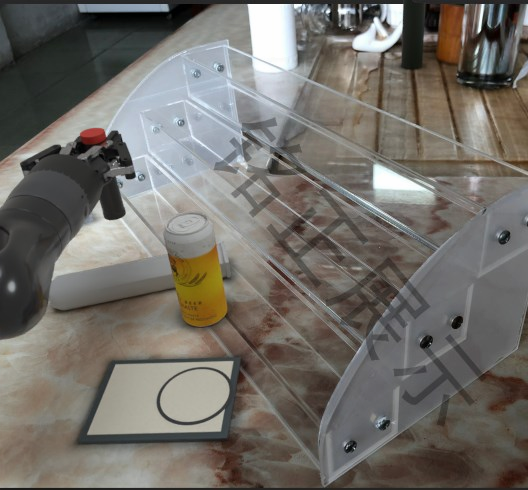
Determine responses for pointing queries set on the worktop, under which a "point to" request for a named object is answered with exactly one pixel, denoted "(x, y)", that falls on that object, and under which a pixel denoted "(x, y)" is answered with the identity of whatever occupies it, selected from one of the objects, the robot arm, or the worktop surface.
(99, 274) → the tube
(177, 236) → the beer can
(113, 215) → the marker
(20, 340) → the worktop surface
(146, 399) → the drawing board
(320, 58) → the worktop surface
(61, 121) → the worktop surface
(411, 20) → the wine bottle
